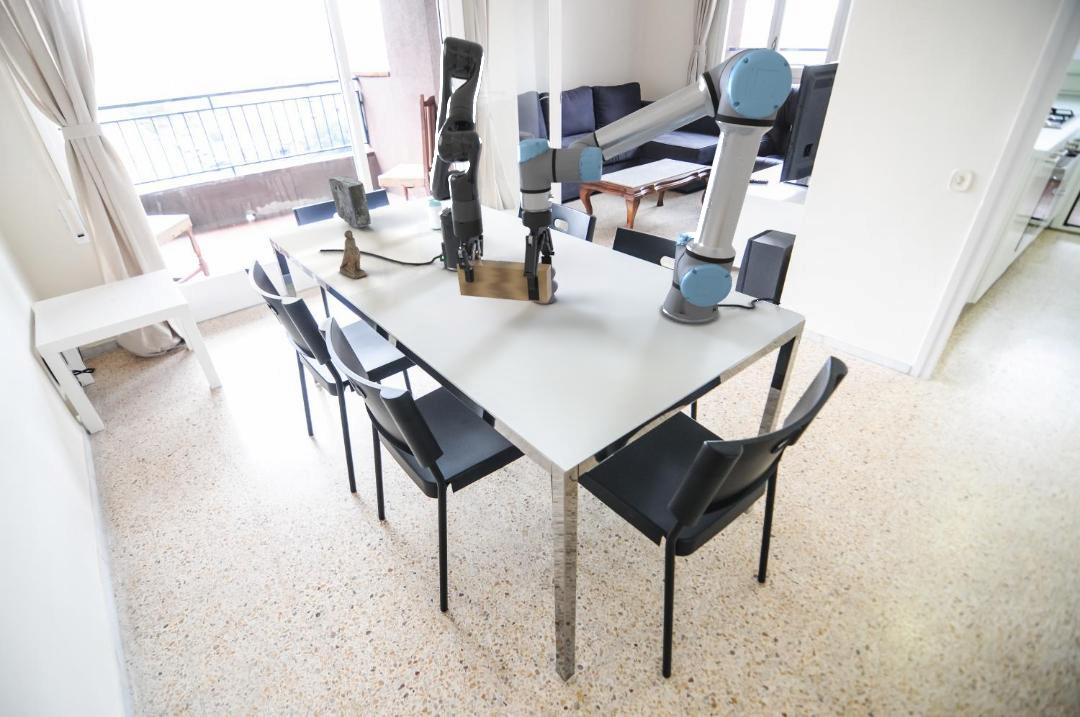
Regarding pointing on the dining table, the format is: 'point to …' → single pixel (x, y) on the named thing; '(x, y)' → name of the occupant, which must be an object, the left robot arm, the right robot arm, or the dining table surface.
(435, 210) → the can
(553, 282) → the cat figurine
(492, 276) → the bar
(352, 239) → the worn brown figurine
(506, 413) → the dining table surface
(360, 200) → the concrete block
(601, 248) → the dining table surface
